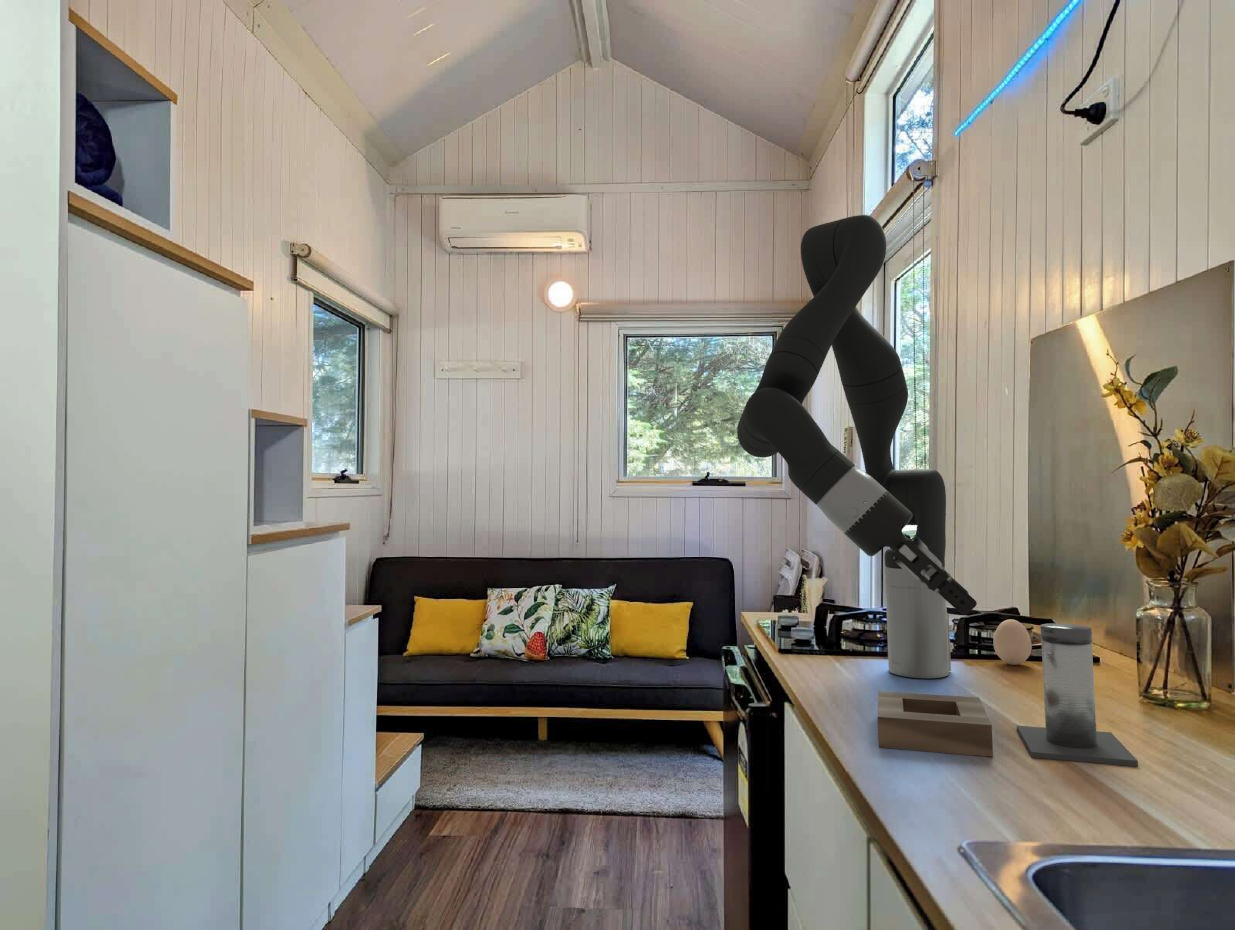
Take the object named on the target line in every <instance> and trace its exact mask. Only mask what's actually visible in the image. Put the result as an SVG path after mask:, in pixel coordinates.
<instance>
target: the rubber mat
mask: <svg viewBox="0 0 1235 930" xmlns="http://www.w3.org/2000/svg"><path fill="white" fill-rule="evenodd" d="M1016 732H1017V733H1018V735H1019V737H1020V739H1021V742H1022V743H1023V745H1024V746H1025V748H1026V749H1027V750H1026V751H1028V753H1029V755H1030V757H1031V758H1034V759H1035V758H1036V759H1043V760H1044V759H1046V760H1056V761H1057V760H1059V761H1068V762H1069V761H1071V762H1080V763H1081V762H1082V763H1095V764H1107V765H1118V766H1130V767H1139V761H1138V759H1137V758H1136V757H1135V756H1134V755H1133V754H1132V753H1131V752H1130V750H1128V749H1127V748H1126V746H1124V744H1122V742H1121V741H1120V740H1119V739H1118V738H1117V737H1116V736H1115V735H1114V734H1113V733H1112V731H1111V732H1110V731H1098V730H1096V735H1097V746H1096V747H1093V748H1084V749H1083V748H1070V747H1064V746H1060V745H1056V744H1053V743H1051V742H1049V741H1048V740H1047V739H1046V727H1042V726H1028V725H1016Z"/></svg>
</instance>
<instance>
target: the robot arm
mask: <svg viewBox="0 0 1235 930" xmlns="http://www.w3.org/2000/svg"><path fill="white" fill-rule="evenodd" d="M886 253H887V239H886V234H885V230H884V228H883V226H882V225H881V223H880V221H878V219H876V218H875V217H874V216H872V215H868V214H859V215H852V216H849V217H844V218H840V219H838V220H833V221H829V222H826V223H822V224H819V225H815V226H814V225H813V227H810V228H809V229H807V230H806V231H805V233H804V234H803V236H802V238H801V242H800V259H801V265H802V268H803V272H804V275H805V278H806V280H807V283H808V287H809V289H810V290H811V293H812V297H813V298H811V299H810V300H809V301H807V303H806V304H805V305H804V306H803V307H802V308H801V309H800V310H799V311H797V312H796V314H795V315H793V317H792V318H791V319H790V320H789V321H788V322H787V324H786V325H785V326H784V327H783V329H782V330H781V332H780V334H779V335H778V338H777V339H776V342H775V344H774V346H773V348H772V349H771V352H770V354H769V356H768V358H767V361H766V363H765V366H764V368H763V371H762V375H761V378H760V381H759V383H758V385H757V387H756V389H755V391H754V392H753V393H752V394H751V395H750V397H749V398H748V399H747V400H746V403H745V406H744V408H743V410H742V413H741V415H740V418H739V419H738V422H737V428H736V435H737V439H738V442H739V445H740V447H741V448H742V449H743V451H745V452H746V453H747V454H748V455H750V456H753V457H756V458H760V459H761V458H763V459H764V458H769V457H772V456H775V455H776V454H779V455H780V456H781V457H782V458H783V459H784V461H785V462H786V464H787V475H788V477H789V479H790V481H791V482H792V483H793V484H794V486H795V487H796V488H798V490H799V491H800V492H802V494H803V495H805V496H806V497H807V498H808V499H809V500H810V501H811V502H813V504H814V505H816V506H817V507H818V508H819V509H820V511H821V512H822V514H824V515H825V517H826V518H827V519H828V520H829V521H830V522H831V523H832V524H833V525H834V526H835V527H837V528H838V529H839V531H841V532H842V533H843V534H844V535H845V536H846V537H847V538H848V539H849V540H850V541H852V543H854V544H855V545H856V546H857V547H858V548H859V549H860V550H861V551H863V552H864V554H866V555H867V556H868V557H874V556H876V554H878V553H879V552H880V551H881V550H882V549H883V548H887V549H886V550H885V552H884V566H885V567H884V577H885V580H884V581H885V599H886V600H885V603H886V629H887V630H886V631H887V633H886V634H887V636H886V637H887V661H888V672H890V673H891V674H894V675H896V676H901V677H906V678H914V679H940V678H945V677H947V676H949V675H950V672H951V671H952V666H951V664H952V663H951V660H952V659H951V638H950V637H951V636H950V635H951V633H950V614H949V613H948V612H947V611H948V609H947V603H949V604H950V606H952V607H953V608H954V609H955V610H956V611H957V612H958V613H960V615H962V616H966V615H968V614H969V613H970V612H971V611H972V610H974V608H976V606H977V604H978V603H977V600H975V598H974V597H972V596H971V595H970V593H969V591H968V590H967V589H965V587H963V586H962V584H960V583H959V582H958V581H957V580H956V579H955V578H953V577H952V575H951V574H950V573H949V572H947V570H946V569H945V568H946V566H945V565H946V564H945V563H946V562H945V561H946V560H945V558H946V543H947V541H946V538H947V537H946V523H947V522H946V521H947V520H946V518H947V516H946V515H947V494H946V493H947V492H946V486H945V482H944V479H943V477H942V475H941V473H940V472H939V471H938V470H936V469H933V468H917V469H915V468H913V469H895V467H894V466H893V465H894V464H893V460H892V454H891V449H892V448H891V447H892V443H893V439H894V436H895V433H896V432H897V429H898V427H899V424H900V422H901V420H902V418H903V415H904V413H905V411H906V408H907V405H908V399H909V390H908V385H907V380H906V377H905V373H904V369H903V365H902V361H901V358H900V356H899V354H898V352H897V351H896V349H895V347H894V346H893V345H892V344H891V343H890V342H889V341H888V340H887V338H886V337H885V336H884V335H883V334H882V333H881V332H880V331H879V330H877V328H876V327H874V326H873V325H872V324H871V323H870V322H869V321H868V320H867V319H866V317H864V315H863V314H862V313H861V311H860V310H859V308H858V307H857V305H858V304H859V302H860V301H861V300H862V298H863V297H864V295H865V293H866V292H867V291H868V289H869V288H870V287H871V285H872V283H873V282H874V281H875V279H876V277H877V276H878V274H879V272H880V271H881V268H883V265H884V263H885V258H886V256H887V255H886ZM831 348H832V351H833V354H834V359H835V363H836V366H837V368H838V373H839V377H840V382H841V385H842V388H843V391H844V396H845V399H846V402H847V405H848V408H849V412H850V414H851V418H852V421H853V424H854V428H855V431H856V434H857V437H858V442H859V445H860V449H861V453H862V459H863V463H864V470H865V471H864V470H862V469H860V467H858V466H857V465H856V464H855V463H854V462H853V461H851V460H850V459H849V458H848V457H847V456H845V454H843V453H842V452H841V451H840V450H839V449H838V448H837V447H835V446H834V445H833V444H832V443H831V442H830V441H829V439H828V438H827V437H826V435H825V433H824V431H823V430H822V429H821V427H820V426H819V425H818V422H816V421H815V419H814V418H813V417H812V415H811V414H810V413H809V411H808V410H807V409H806V408H805V406H804V405H803V403H804V400H805V399H806V397H807V396H808V394H809V392H810V391H811V389H812V387H813V386H814V384H815V382H816V380H817V378H818V376H819V373H820V372H821V369H822V367H823V364H824V362H825V360H826V357H827V356H828V353H829V351H830V349H831ZM906 526H916V530H915V531H916V532H915V535H914V536H913V537H912V536H910V535H909V534H906V533H903V529H904V528H905V527H906ZM911 537H912V538H911Z"/></svg>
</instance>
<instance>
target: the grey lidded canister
mask: <svg viewBox="0 0 1235 930" xmlns="http://www.w3.org/2000/svg"><path fill="white" fill-rule="evenodd" d="M1039 627H1040V629H1039V630H1040V640H1041V655H1042V656H1041V659H1042V680H1043V699H1044V701H1043V702H1044V720H1045V721H1044V722H1045V728H1046V739H1047V740H1048V741H1049V742H1051V743H1053V744H1056V745H1060V746H1064V747H1070V748H1083V749H1084V748H1093V747H1096V746H1097V735H1096V731H1097V719H1096V718H1097V716H1096V699H1095V678H1094V677H1095V675H1094V660H1093V657H1094V655H1093V629H1092V627H1091V626H1087V625H1081V624H1074V623H1061V622H1059V623H1056V622H1055V623H1054V622H1052V623H1051V622H1050V623H1043V624H1040V625H1039Z"/></svg>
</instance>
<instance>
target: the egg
mask: <svg viewBox="0 0 1235 930" xmlns="http://www.w3.org/2000/svg"><path fill="white" fill-rule="evenodd" d="M1032 645H1033V644H1032V639H1031V635H1030V634H1029V631H1028V629H1027V628H1026V627H1025V625H1023V624H1022V623H1021V622H1020V621H1018V620H1016V619H1013V618H1011V619H1006V620H1004V621H1002V622H1000V623H999V625H998V626H997V628H996V630H995V632H994V633H993V648H994V649H993V650H994V651H995V654H996V655H997V656H998V658H999V659H1000V660H1001V661H1003V662H1004V663H1005V664H1007V665H1011V666H1018V665H1021V664H1023V663H1025V662H1026V660H1028V659H1029V657H1030V655H1031V653H1032Z"/></svg>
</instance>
